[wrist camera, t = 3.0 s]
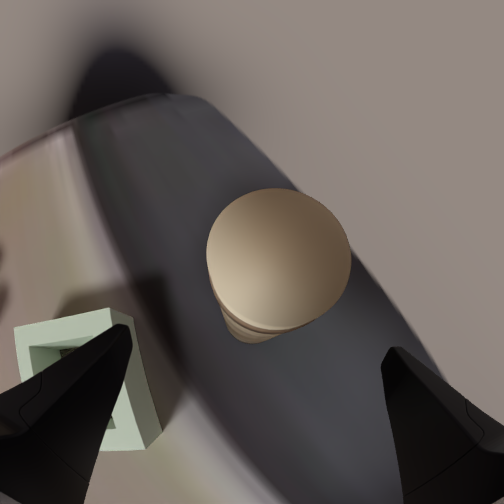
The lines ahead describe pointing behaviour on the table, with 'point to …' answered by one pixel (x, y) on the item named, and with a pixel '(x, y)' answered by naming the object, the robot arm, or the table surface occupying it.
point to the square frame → (135, 383)
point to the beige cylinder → (276, 263)
